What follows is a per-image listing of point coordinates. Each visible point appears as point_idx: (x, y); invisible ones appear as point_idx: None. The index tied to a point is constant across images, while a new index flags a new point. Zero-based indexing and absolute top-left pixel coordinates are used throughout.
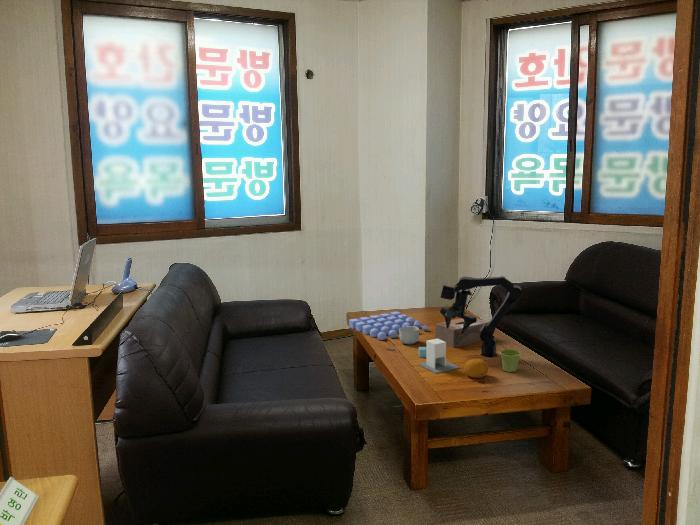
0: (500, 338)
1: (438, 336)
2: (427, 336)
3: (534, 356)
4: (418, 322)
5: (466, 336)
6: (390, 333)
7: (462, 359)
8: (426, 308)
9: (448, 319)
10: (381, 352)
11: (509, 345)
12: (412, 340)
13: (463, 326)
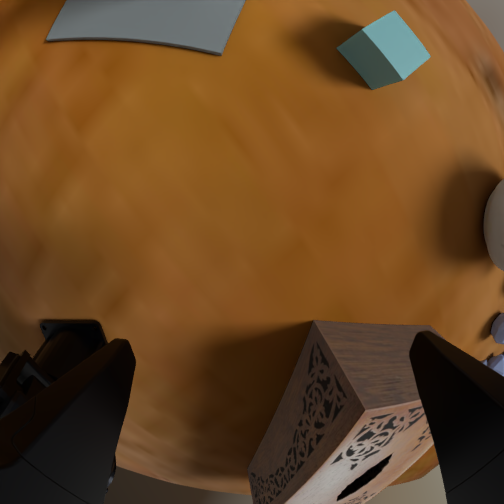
0: (221, 483)
1: None
2: (462, 337)
3: None
4: (499, 372)
5: (292, 432)
6: None
7: (112, 169)
8: None
9: (491, 447)
10: (487, 36)
11: (143, 462)
12: (500, 194)
13: (31, 435)
